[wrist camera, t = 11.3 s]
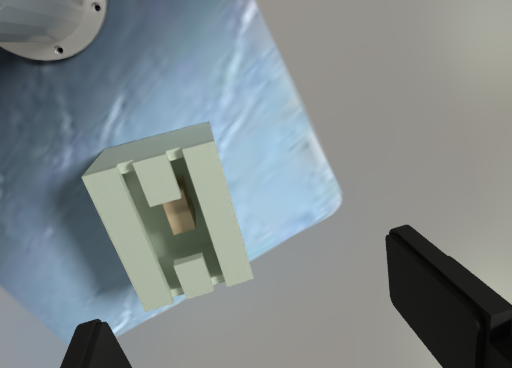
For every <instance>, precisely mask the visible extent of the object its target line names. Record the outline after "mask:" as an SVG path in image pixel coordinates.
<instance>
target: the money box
mask: <svg viewBox="0 0 512 368" xmlns="http://www.w3.org/2000/svg"><path fill="white" fill-rule="evenodd" d="M180 175H183V176H184V179H185V182H186V185H187V188H188V191H189V194H190V197H191V200H192V203H193V205H194V208H195V215H196V229H193V230H190V231H186V232H183V233H179V234H176V235H174V233H173V231H172V228H171V226H170V223H169V220H168V218H167V215H166V212H165V210H164V207H163V205H162V204H163V203H166V202H170V201H173V200H177V199H180V198H181V192H180V189H179V186H178V183H177V181H176V178H175V177H176V176H180ZM81 178H82V180H83V182H84V184H85V186H86V188H87V190H88V192H89V194H90V196H91V199H92V201H93V203H94V205H95V207H96V209H97V211H98V213H99V215H100V217H101V220H102V222H103V224H104V226H105V228H106V230H107V232H108V234H109V236H110V238H111V241H112V243H113V245H114V247H115V249H116V251H117V253H118V255H119V257H120V259H121V262H122V264H123V266H124V268H125V270H126V272H127V274H128V276H129V278H130V280H131V283H132V285H133V287H134V289H135V291H136V293H137V295H138V297H139V299H140V301H141V304H142V306H143V308H144V310H145V312H147V311H150V310H154V309H157V308H160V307H163V306H167V305H170V304H173V297H176V296H179V295H182V294H185V296H186V299H189V298H193V297H196V296H199V295H202V294H205V293H209V292H212V291H214V288H213V285H215V284H218V283H222V282H226V285H227V287H228V286H231V285H235V284H238V283H241V282H245V281H248V280H251V279H254V278H253V274H252V271H251V267H250V264H249V260H248V257H247V253H246V249H245V246H244V242H243V239H242V235H241V232H240V228H239V225H238V221H237V218H236V214H235V211H234V207H233V203H232V200H231V196H230V193H229V189H228V186H227V182H226V179H225V175H224V172H223V168H222V165H221V161H220V158H219V154H218V151H217V147H216V144H215V140H214V137H213V133H212V130H211V126H210V123H209V121H208V122H204V123H200V124H197V125H193V126H189V127H185V128H182V129H178V130H174V131H170V132H166V133H163V134H159V135H155V136H151V137H148V138H144V139H140V140H136V141H132V142H129V143H125V144H121V145H117V146H114V147H110V148H106V149H104V150H103V152H102V153H101V154H100V155H99V156H98V158H97V159H96V160H95V161H94V162H93V164H92V165H91V166H90V167H89V168H88V170H87V171H86V172H85V173H84V174H83V176H82V177H81Z"/></svg>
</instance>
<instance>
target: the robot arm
mask: <svg viewBox="0 0 512 368" xmlns="http://www.w3.org/2000/svg"><path fill="white" fill-rule="evenodd" d="M97 5H99V6H100V11H97V10H96V6H97ZM107 5H108V0H0V47H2V48H3V49H5V50H7V51H9V52H12V53H14V54H16V55H18V56H22V57H25V58H29V59H33V60H44V61H50V60H60V59H65V58H69V57H71V56H74V55H76V54H79V53H80V52H82V51H83V50H85V49H86V48H87V47H89V46H90V45H91V44H92V42H93V41H94V40H95V39H96V38H97V36H98V35H99V33H100V31H101V29H102V27H103V25H104V21H105V18H106V15H107ZM60 47H61V48H62V49H63V53H60V52H59V48H60ZM386 251H387V264H388V277H389V290H390V298H391V301H392V303H393V305H394V307H395V308H396V309H397V310H398V312H399V313H400V314H401V315H402V317H403V318H404V319H405V321H406V322H407V323H408V324H409V326H410V327H411V328H412V329H413V331H414V332H415V333H416V334H417V336H418V337H419V338H420V339H421V341H422V342H423V343H424V345H425V346H426V347H427V348H428V350H429V351H430V352H431V353H432V355H433V356H434V357H435V358H436V360H437V361H438V362H439V363H440V365H441V366H442V367H443V368H512V305H511V304H510V303H509V302H507V301H506V300H505V299H504V298H502V297H501V296H500V295H499V294H497V293H496V292H495V291H494V290H492V289H491V288H490V287H489V286H487V285H486V284H485V283H484V282H482V281H481V280H480V279H479V278H477V277H476V276H475V275H474V274H472V273H471V272H470V271H469V270H467V269H466V268H465V267H463V266H462V265H461V264H460V263H459V262H457V261H456V260H455V259H453V258H452V257H450V256H447V255H446V254H444V253H443V252H442V251H441V250H439V249H438V248H437V247H436V246H434V245H433V244H432V243H431V242H429V241H428V240H427V239H426V238H425V237H423V236H422V235H421V234H420V233H418V232H417V231H416V230H415V229H413V228H412V227H411V226H409V225H403V226H400V227H397V228H393V229H391V230H390V232H389V235H387V236H386ZM60 368H132V367H131V365H130V363H129V361H128V359H127V357H126V356H125V354H124V352H123V350H122V348H121V347H120V345H119V343H118V341H117V339H116V337H115V336H114V334H113V332H112V330H111V328H110V326H109V325H108V323H107V322H101V320H99V319H95V320H92V321H89V322H85V323H82V324H79V325H78V326H77V328H76V330H75V332H74V335H73V337H72V340H71V342H70V344H69V347H68V350H67V352H66V355H65V357H64V359H63V362H62V364H61V367H60Z"/></svg>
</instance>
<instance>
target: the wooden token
mask: <svg viewBox="0 0 512 368" xmlns="http://www.w3.org/2000/svg"><path fill="white" fill-rule="evenodd" d="M175 178H176V181H177V183H178V186H179V189H180V192H181V198H180V199H177V200H173V201H170V202H166V203H163V204H162V205H163V207H164V210H165V212H166V215H167V218H168V220H169V223H170V226H171V228H172V231H173V233H174V235H176V234H179V233H183V232H186V231H190V230H193V229H196V215H195V208H194V205H193V203H192V200H191V197H190V194H189V191H188V188H187V185H186V182H185V179H184V176H183V175H180V176H176V177H175Z"/></svg>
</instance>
